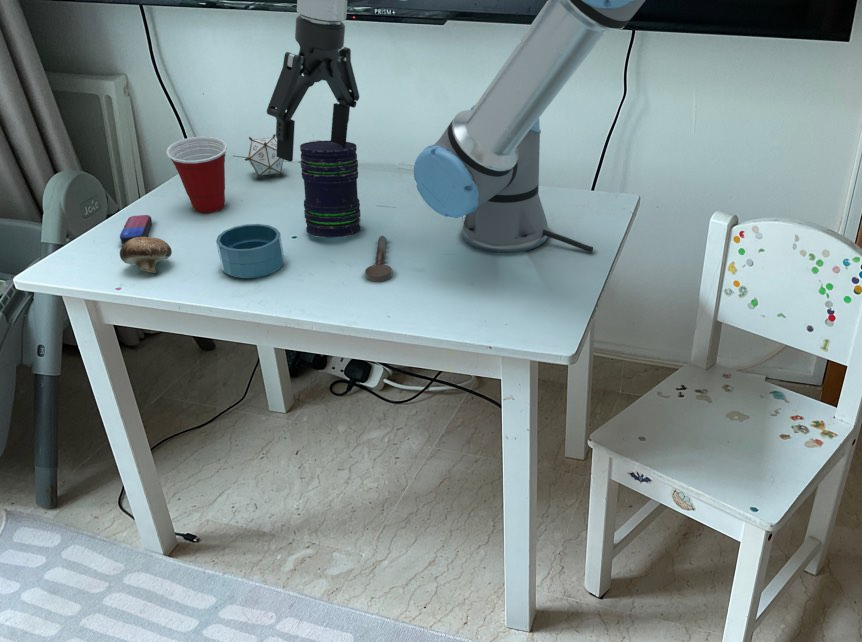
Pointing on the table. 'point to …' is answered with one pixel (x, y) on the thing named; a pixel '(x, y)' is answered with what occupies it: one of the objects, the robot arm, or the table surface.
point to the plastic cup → (201, 171)
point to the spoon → (379, 264)
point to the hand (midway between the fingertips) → (312, 152)
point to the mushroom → (145, 252)
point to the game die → (265, 156)
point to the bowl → (250, 250)
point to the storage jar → (330, 189)
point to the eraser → (136, 227)
